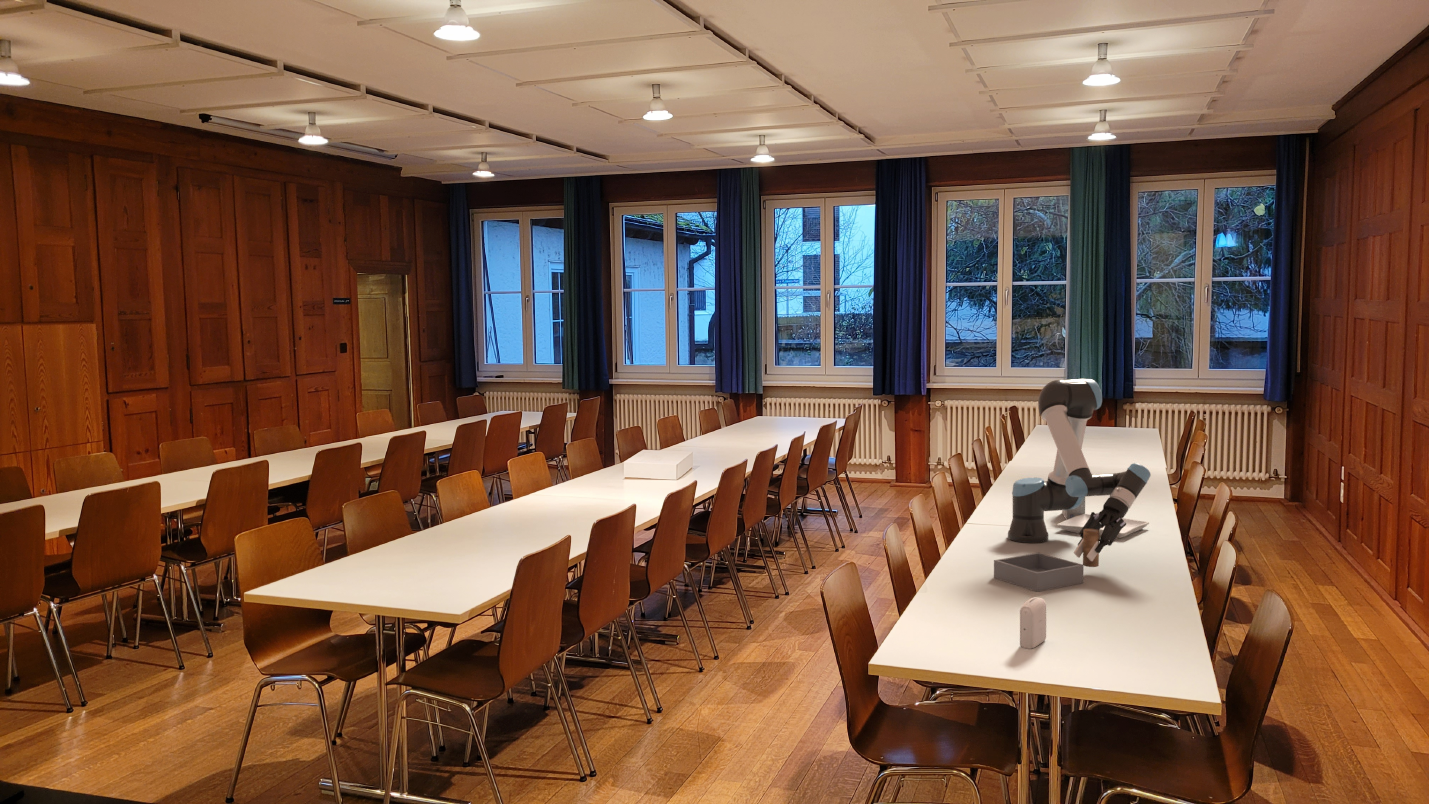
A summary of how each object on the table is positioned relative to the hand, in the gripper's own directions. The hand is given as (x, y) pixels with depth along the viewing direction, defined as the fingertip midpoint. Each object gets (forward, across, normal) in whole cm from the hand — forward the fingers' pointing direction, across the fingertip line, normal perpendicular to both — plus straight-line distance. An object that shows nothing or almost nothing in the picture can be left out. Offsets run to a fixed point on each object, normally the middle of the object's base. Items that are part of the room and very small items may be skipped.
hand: (1082, 556), depth 343 cm
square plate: (-36, -45, +47) cm, 74 cm away
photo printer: (+49, +42, -41) cm, 76 cm away
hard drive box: (-43, -70, +54) cm, 98 cm away
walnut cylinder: (0, 0, +5) cm, 5 cm away
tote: (+16, -4, -7) cm, 18 cm away
